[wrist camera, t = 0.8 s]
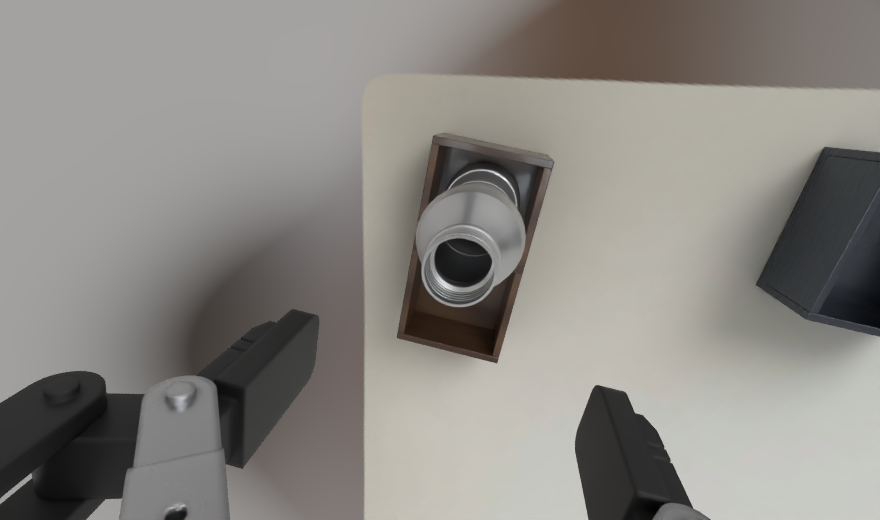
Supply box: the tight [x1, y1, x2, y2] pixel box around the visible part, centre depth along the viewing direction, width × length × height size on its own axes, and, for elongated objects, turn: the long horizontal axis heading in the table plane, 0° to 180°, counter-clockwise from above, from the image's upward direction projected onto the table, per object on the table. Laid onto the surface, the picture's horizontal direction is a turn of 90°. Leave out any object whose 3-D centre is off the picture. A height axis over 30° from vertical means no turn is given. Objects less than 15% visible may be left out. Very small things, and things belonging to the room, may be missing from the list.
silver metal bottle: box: [416, 163, 526, 307], centre depth 29 cm, size 6×7×20 cm
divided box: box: [397, 133, 554, 363], centre depth 38 cm, size 18×9×5 cm, turn 169°
